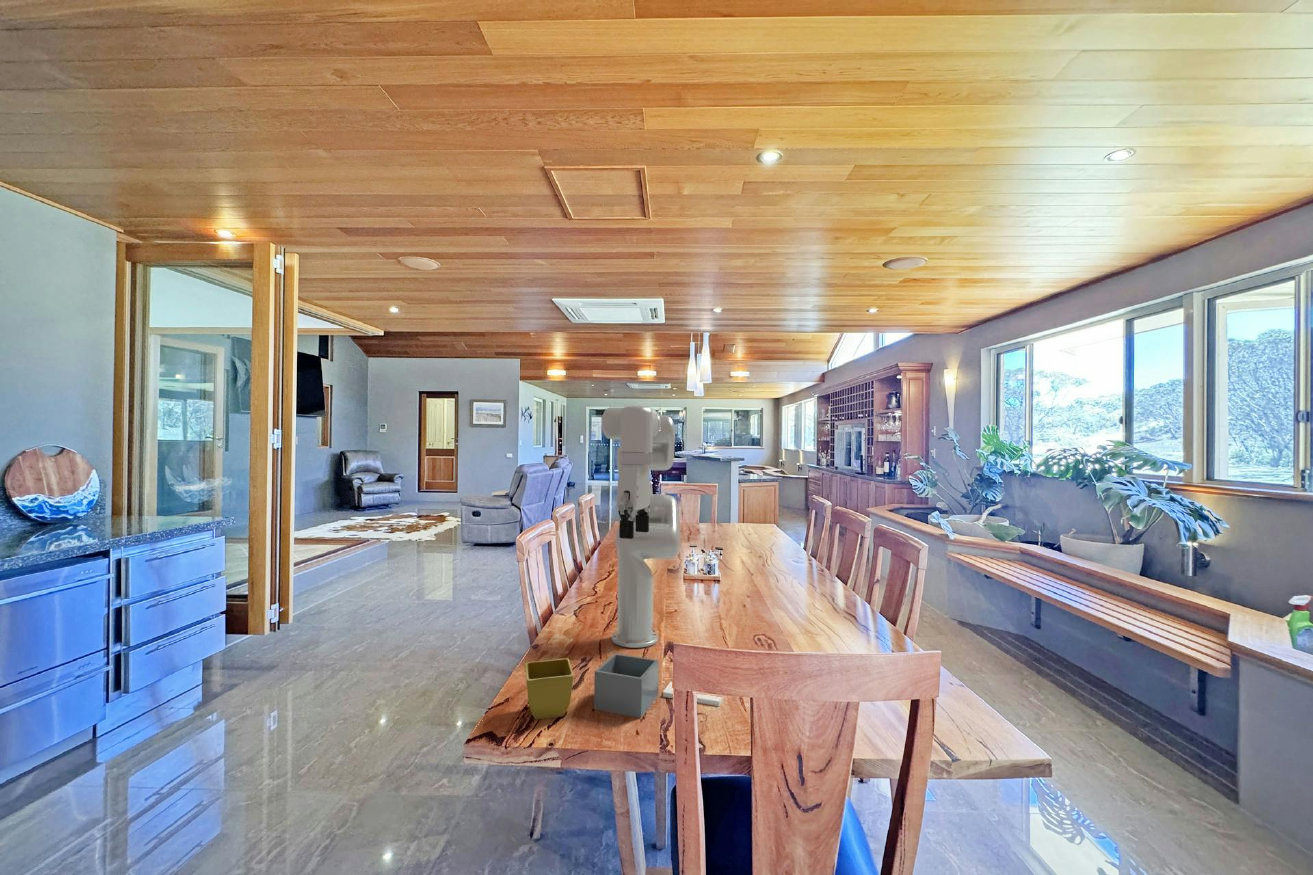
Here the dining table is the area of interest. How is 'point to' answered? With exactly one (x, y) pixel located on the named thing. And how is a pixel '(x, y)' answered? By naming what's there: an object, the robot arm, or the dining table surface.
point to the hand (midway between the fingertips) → (634, 534)
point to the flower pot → (549, 687)
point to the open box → (626, 685)
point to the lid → (700, 698)
